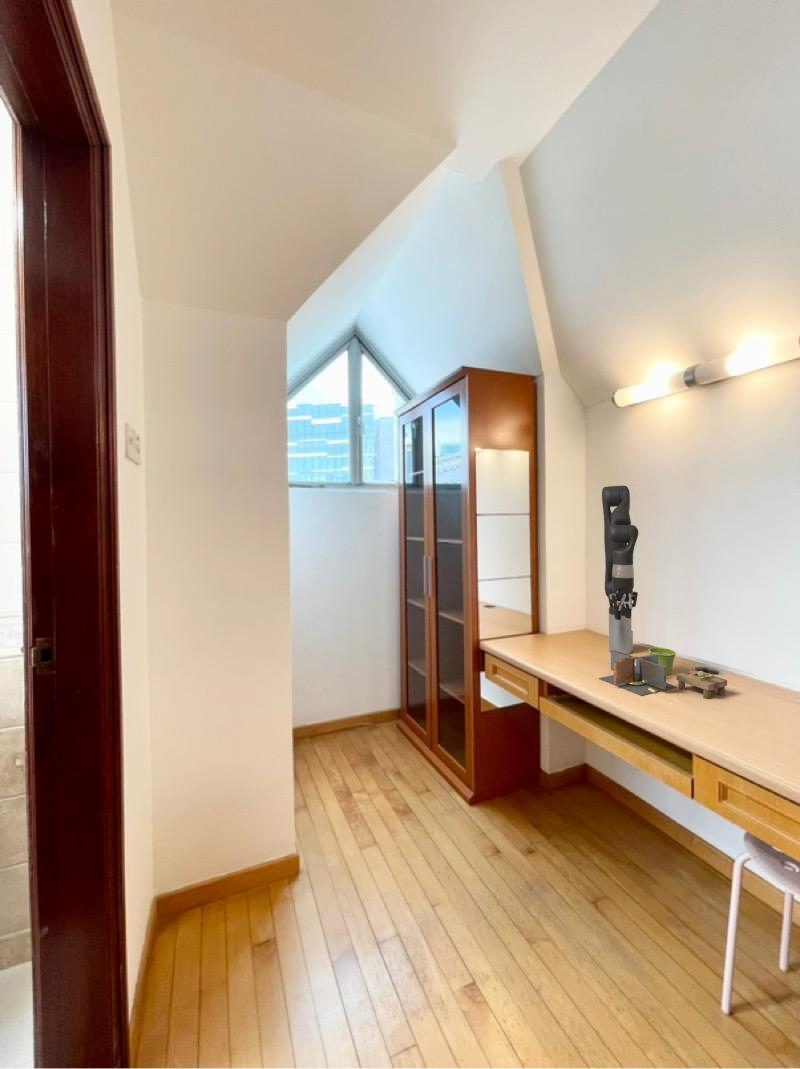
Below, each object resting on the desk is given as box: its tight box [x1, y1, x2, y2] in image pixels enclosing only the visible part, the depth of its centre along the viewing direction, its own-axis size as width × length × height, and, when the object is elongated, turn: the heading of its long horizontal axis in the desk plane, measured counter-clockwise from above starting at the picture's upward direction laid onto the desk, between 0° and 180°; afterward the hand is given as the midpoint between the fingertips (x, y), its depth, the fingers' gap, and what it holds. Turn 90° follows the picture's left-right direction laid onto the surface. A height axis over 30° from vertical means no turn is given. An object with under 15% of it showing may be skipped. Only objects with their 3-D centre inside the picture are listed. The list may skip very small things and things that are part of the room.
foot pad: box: [598, 674, 678, 697], centre depth 161 cm, size 18×19×1 cm
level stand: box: [675, 670, 728, 700], centre depth 153 cm, size 10×11×7 cm
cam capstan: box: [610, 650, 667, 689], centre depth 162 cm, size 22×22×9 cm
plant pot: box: [648, 647, 678, 676], centre depth 171 cm, size 9×9×9 cm
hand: (623, 618), depth 172 cm, fingers open, 5 cm apart
